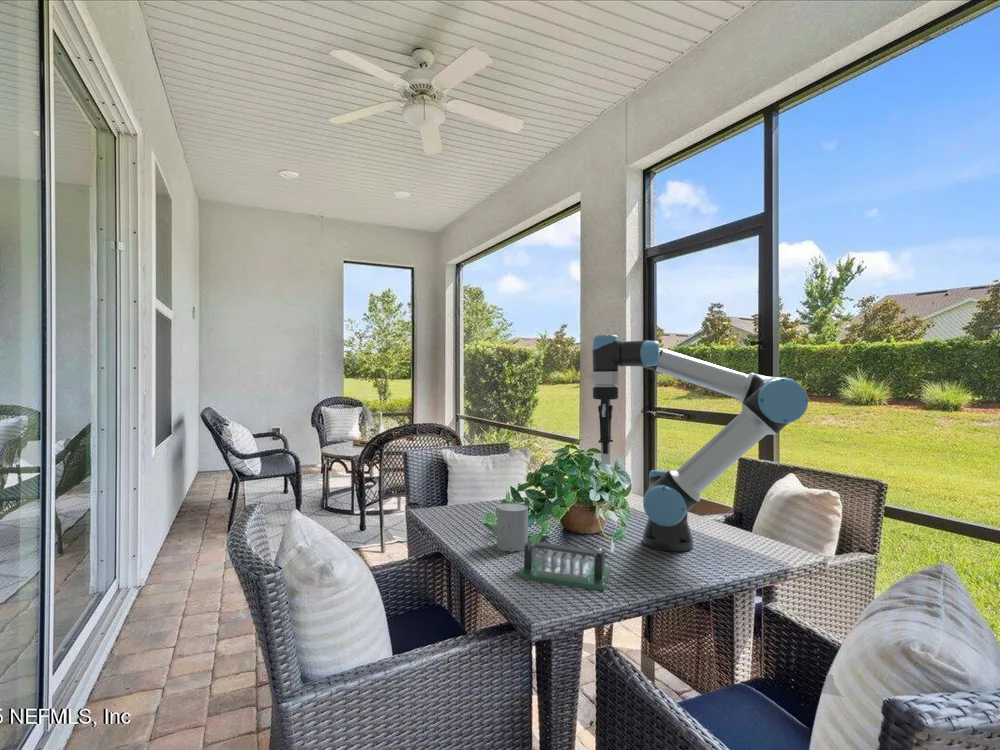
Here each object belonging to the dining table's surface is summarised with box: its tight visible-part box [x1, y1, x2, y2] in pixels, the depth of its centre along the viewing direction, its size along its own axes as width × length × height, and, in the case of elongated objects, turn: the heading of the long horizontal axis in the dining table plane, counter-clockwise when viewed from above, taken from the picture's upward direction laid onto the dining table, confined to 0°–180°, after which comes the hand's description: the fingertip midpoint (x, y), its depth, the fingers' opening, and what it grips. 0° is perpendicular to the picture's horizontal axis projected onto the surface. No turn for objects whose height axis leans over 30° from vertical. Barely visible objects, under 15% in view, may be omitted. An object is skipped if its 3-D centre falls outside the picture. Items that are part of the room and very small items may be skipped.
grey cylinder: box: [496, 502, 529, 553], centre depth 160 cm, size 10×10×12 cm
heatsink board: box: [518, 540, 611, 592], centre depth 138 cm, size 22×13×7 cm, turn 71°
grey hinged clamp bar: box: [533, 541, 604, 558], centre depth 138 cm, size 18×3×2 cm, turn 71°
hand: (605, 463), depth 157 cm, fingers closed
